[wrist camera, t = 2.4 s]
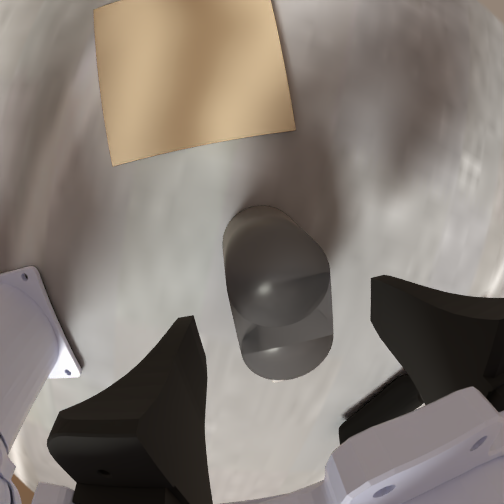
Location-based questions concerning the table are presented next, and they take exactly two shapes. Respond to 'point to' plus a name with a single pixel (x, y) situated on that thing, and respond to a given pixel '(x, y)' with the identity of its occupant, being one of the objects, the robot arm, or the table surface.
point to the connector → (277, 293)
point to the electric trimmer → (383, 407)
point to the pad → (188, 74)
